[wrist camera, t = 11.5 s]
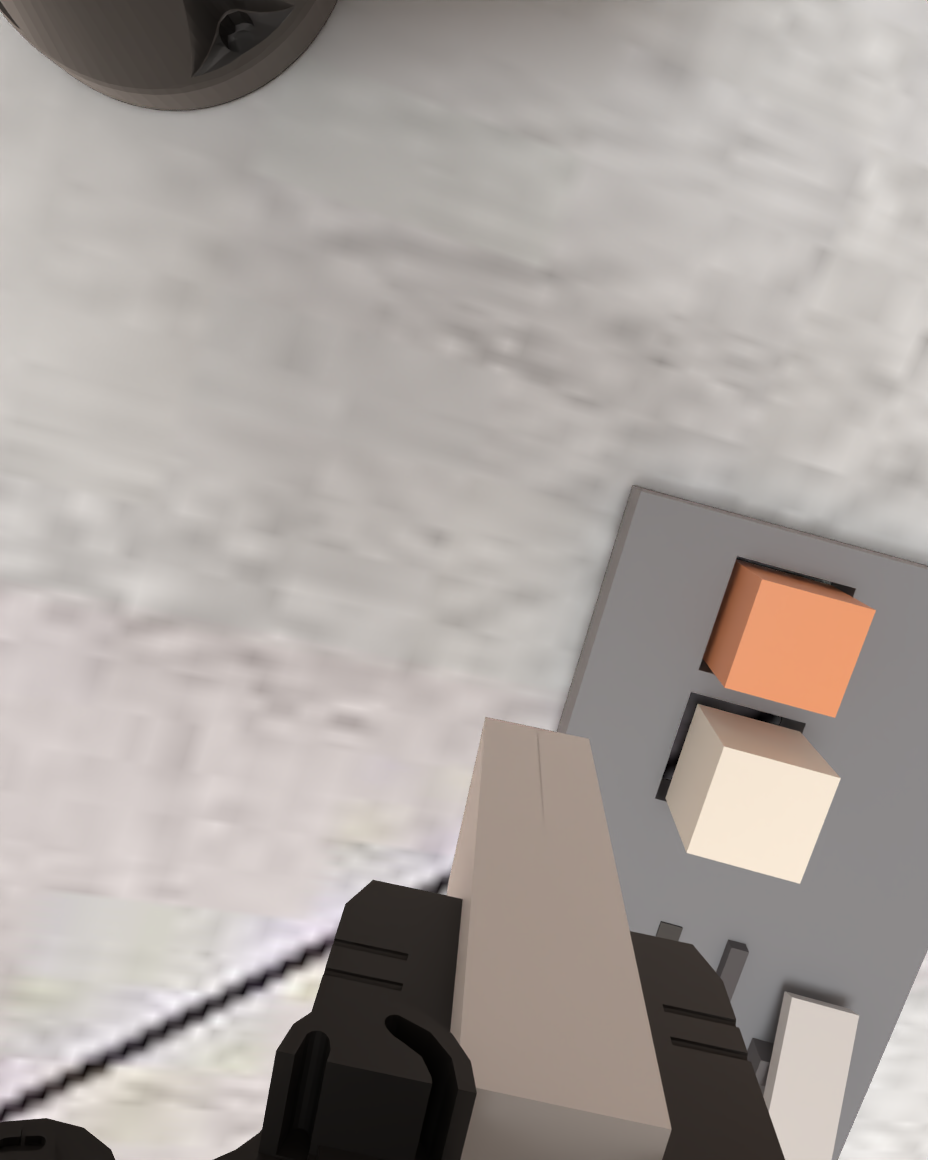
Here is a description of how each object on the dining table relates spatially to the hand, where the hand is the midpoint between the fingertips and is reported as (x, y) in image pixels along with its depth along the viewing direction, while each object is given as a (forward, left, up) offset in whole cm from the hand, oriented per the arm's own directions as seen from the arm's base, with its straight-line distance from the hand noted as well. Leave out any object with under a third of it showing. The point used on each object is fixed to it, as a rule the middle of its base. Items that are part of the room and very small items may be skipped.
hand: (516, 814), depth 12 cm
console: (+12, +13, -26) cm, 32 cm away
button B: (+6, +11, -23) cm, 27 cm away
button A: (0, +11, -25) cm, 28 cm away
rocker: (+19, +18, -21) cm, 34 cm away
